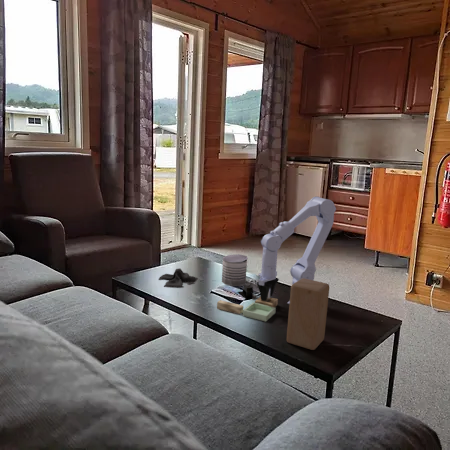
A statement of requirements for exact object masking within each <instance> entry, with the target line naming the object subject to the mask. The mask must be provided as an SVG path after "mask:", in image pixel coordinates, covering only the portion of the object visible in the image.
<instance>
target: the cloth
mask: <svg viewBox="0 0 450 450" xmlns="http://www.w3.org/2000/svg"><path fill="white" fill-rule="evenodd" d="M198 280H199V278H198V277H196V276H194V275H193V276H191V275H190V274H189V273H188V272H184V271H183V270H182V269H181V268H176V269H175V270H174V272H173V274H169V273H164V274H162V275H160V276H159V278H158V281H165V284H164V286H163V287H164V288H177V289H178V288H179V289H181V288H182V289H183V288H185V286H183V283H185V284H187V285H189V286H190V285H195V284H196V283H195V282H196V281H198Z"/></svg>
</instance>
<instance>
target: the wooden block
mask: <svg viewBox="0 0 450 450" xmlns="http://www.w3.org/2000/svg"><path fill="white" fill-rule="evenodd" d="M329 294H330V284H329V283H326V282H322V281H318V280H315V279H314V280H309V279H305V278H302V279H300V280H299V281H297V282H295V283H294V284H292V285H291V286H290V293H289V296H290V297H289V301H290V304H288V318H287V329H286V342H287V343H288V344H292V345H295V346H298V347H302V348H304V349H308V350H311V351H315V350H316V349H317V348H318V346H319V345H320V344H322V342H323V341H324V340H325V333H326V324H327V314H328V305H329Z"/></svg>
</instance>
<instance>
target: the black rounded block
mask: <svg viewBox="0 0 450 450" xmlns="http://www.w3.org/2000/svg"><path fill="white" fill-rule="evenodd" d="M237 293H238V295H240V296H241V297H242V298H244V299H245V300H246V301H248V300H249V301H250V300H257V299H258V298H259V297H257V296H256V295H254V287H253V286H251V284H245V285H242V291H237Z"/></svg>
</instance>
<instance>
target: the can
mask: <svg viewBox="0 0 450 450" xmlns="http://www.w3.org/2000/svg"><path fill="white" fill-rule="evenodd" d="M247 266H248V256H247V255H244V254H239V253H238V254H236V253H235V254H227V255H225V256H223V257H222V271H221V272H222V273H221V282H222V283H223V284H224V285H226V286H230V287H238V286H239V287H241V286H243V285H246V282H247V271H248V270H247Z"/></svg>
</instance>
